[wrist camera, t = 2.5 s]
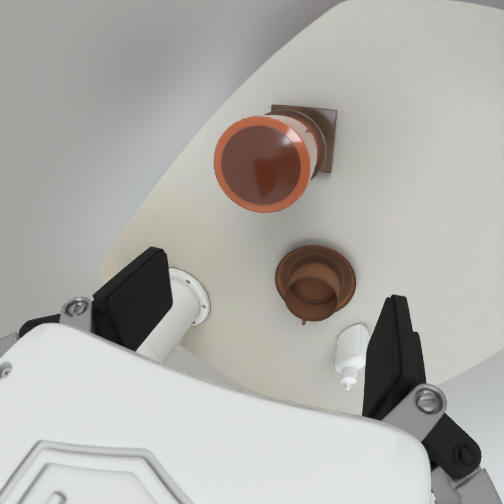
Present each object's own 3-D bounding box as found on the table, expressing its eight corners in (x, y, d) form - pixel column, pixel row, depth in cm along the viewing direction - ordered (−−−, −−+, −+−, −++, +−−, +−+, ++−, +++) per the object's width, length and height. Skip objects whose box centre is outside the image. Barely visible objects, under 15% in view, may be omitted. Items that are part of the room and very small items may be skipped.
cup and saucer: (356, 307, 44) (356, 333, 39) (284, 308, 48) (275, 333, 43) (354, 237, 39) (354, 258, 34) (271, 242, 43) (259, 263, 38)
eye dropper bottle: (334, 326, 47) (326, 381, 37) (367, 321, 44) (365, 378, 34) (339, 344, 48) (331, 399, 38) (370, 340, 46) (368, 395, 36)
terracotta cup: (249, 179, 27) (213, 207, 20) (251, 112, 24) (212, 115, 17) (317, 187, 25) (305, 220, 19) (323, 117, 22) (314, 120, 16)
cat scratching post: (271, 163, 38) (241, 186, 28) (273, 104, 34) (242, 103, 24) (331, 171, 36) (325, 197, 26) (336, 110, 32) (333, 109, 22)
